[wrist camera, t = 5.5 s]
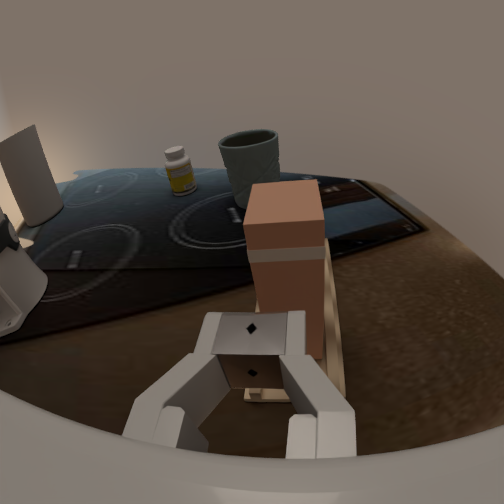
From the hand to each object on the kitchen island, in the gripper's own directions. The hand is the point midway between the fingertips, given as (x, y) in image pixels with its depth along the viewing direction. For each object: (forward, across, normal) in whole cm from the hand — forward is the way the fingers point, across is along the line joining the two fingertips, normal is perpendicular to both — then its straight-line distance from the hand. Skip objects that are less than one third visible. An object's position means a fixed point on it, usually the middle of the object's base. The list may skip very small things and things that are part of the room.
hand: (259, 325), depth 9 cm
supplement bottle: (+52, +24, +17) cm, 60 cm away
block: (+14, 0, +17) cm, 22 cm away
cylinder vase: (+50, +67, +17) cm, 86 cm away
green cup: (+45, +8, +17) cm, 49 cm away
